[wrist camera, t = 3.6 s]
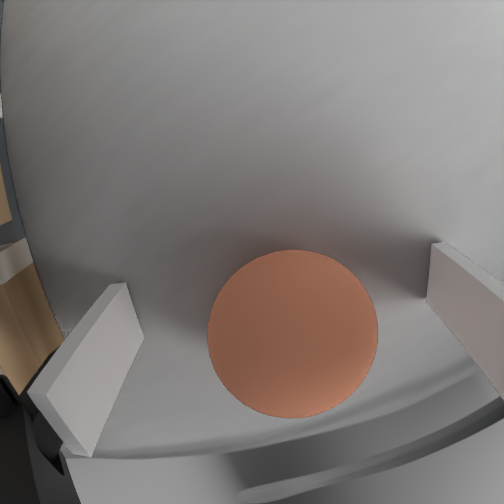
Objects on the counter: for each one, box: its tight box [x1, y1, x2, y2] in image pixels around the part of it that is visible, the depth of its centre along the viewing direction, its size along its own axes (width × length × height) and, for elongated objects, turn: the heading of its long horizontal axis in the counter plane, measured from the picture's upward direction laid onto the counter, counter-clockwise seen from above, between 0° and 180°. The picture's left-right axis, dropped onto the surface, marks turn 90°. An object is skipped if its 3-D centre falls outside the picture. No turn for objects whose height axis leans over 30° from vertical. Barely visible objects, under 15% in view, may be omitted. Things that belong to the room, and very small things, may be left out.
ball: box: [207, 250, 378, 418], centre depth 10 cm, size 5×5×5 cm
